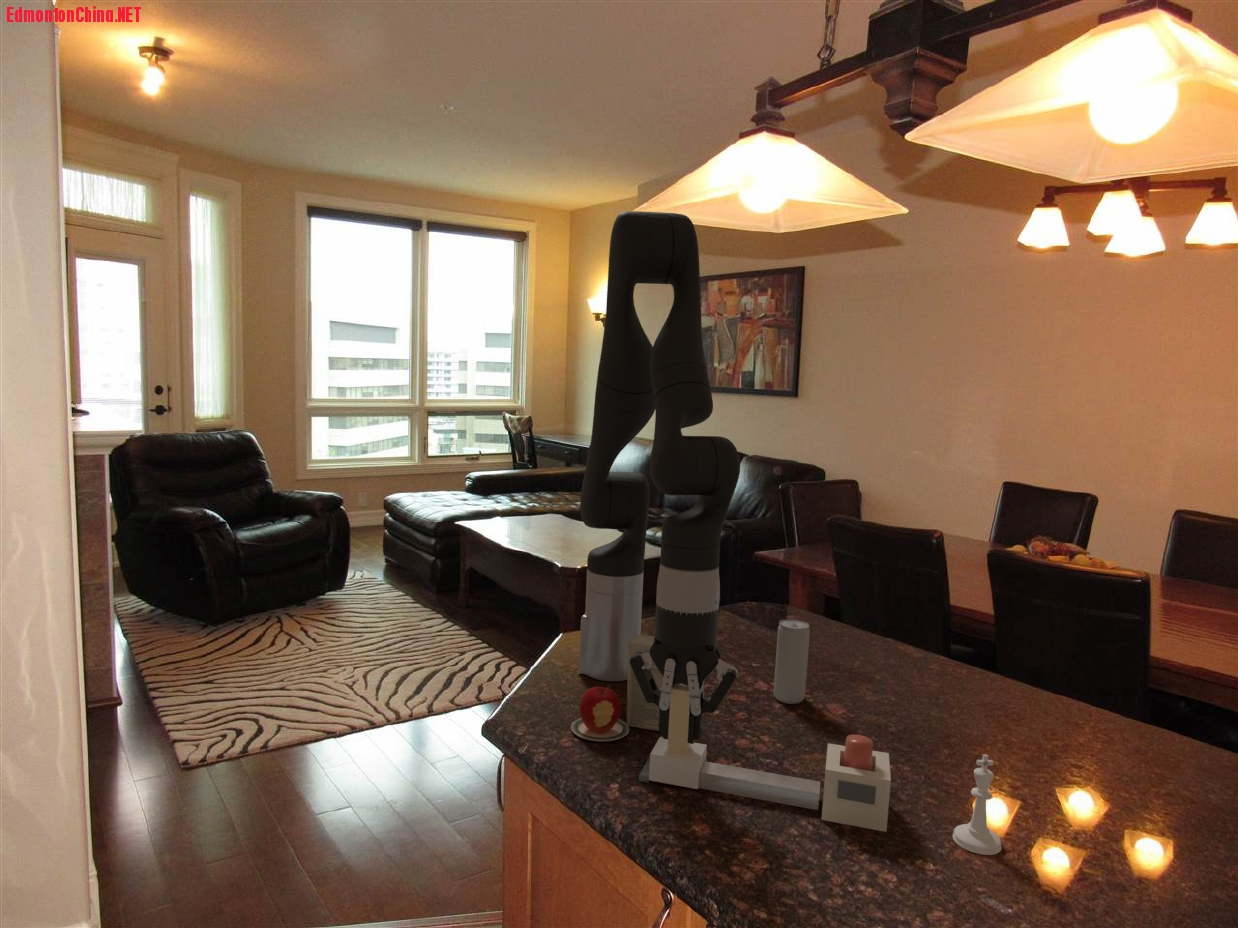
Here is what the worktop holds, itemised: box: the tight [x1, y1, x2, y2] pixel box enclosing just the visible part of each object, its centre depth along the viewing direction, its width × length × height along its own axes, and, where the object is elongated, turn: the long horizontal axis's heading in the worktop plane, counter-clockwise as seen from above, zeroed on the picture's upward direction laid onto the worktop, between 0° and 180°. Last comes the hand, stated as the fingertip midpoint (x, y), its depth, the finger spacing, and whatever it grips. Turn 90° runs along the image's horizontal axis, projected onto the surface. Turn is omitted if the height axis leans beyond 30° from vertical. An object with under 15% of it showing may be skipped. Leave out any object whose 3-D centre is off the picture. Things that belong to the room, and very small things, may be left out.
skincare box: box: [626, 634, 663, 732], centre depth 116 cm, size 6×4×12 cm
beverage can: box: [773, 619, 811, 705], centre depth 127 cm, size 5×5×12 cm
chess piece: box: [952, 753, 1003, 856], centre depth 90 cm, size 5×5×10 cm
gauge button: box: [844, 734, 874, 771], centre depth 95 cm, size 3×3×5 cm
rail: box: [638, 756, 821, 811], centre depth 100 cm, size 21×5×2 cm, turn 74°
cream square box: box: [821, 742, 892, 833], centre depth 95 cm, size 7×7×6 cm
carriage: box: [649, 684, 708, 790], centre depth 101 cm, size 6×5×11 cm
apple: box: [570, 685, 630, 742], centre depth 113 cm, size 8×8×6 cm
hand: (679, 738), depth 101 cm, fingers closed on carriage, 2 cm apart
